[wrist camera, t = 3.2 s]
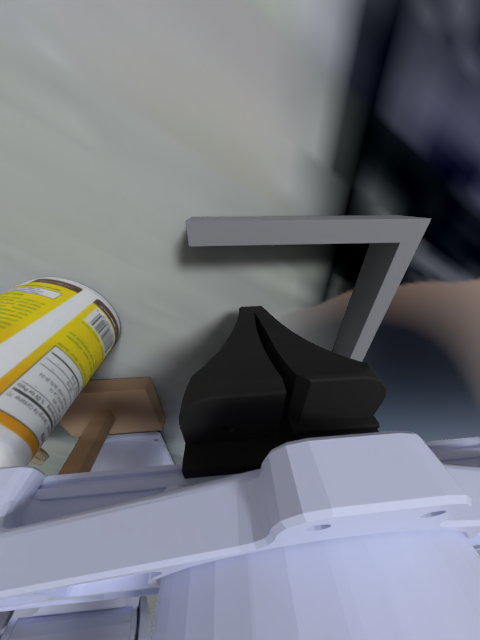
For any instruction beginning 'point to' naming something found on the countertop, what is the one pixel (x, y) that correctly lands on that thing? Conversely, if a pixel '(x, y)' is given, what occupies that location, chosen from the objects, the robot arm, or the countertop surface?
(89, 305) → the supplement bottle
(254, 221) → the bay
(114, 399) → the stand
